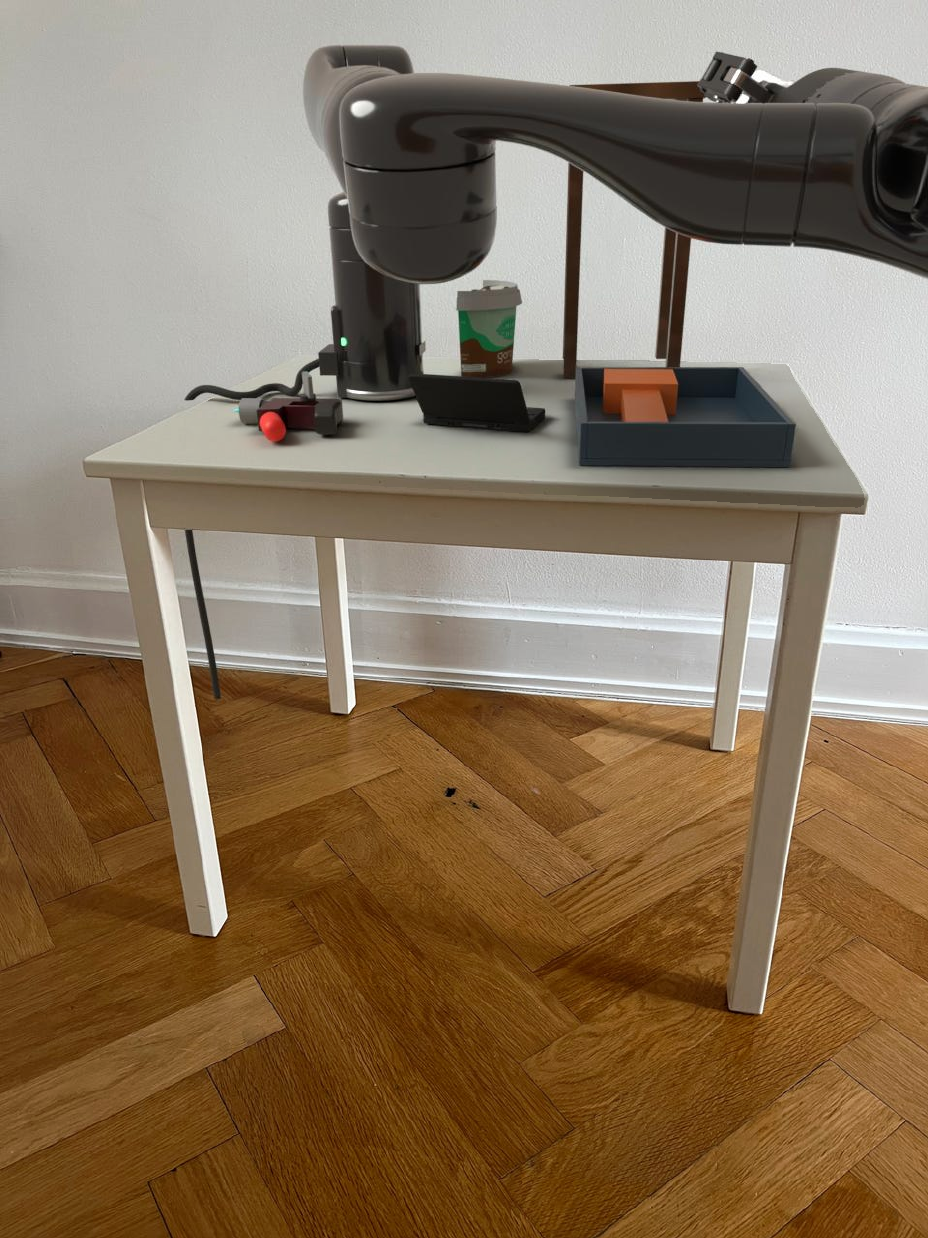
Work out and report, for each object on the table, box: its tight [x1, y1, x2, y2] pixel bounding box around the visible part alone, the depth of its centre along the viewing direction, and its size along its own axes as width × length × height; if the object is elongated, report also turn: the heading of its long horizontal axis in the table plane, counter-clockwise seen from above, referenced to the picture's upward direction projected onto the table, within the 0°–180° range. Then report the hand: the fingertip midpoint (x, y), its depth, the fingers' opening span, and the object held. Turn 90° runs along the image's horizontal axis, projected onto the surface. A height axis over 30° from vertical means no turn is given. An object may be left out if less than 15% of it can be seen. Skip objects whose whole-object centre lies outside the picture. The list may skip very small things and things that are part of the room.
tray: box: [574, 366, 797, 468], centre depth 84 cm, size 17×23×4 cm
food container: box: [455, 279, 523, 378], centre depth 109 cm, size 12×6×10 cm, turn 164°
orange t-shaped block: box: [603, 369, 678, 422], centre depth 84 cm, size 7×22×3 cm, turn 173°
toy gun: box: [232, 371, 344, 442], centre depth 86 cm, size 10×12×5 cm
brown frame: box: [562, 80, 707, 380], centre depth 105 cm, size 14×14×30 cm
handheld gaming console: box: [409, 373, 546, 433], centre depth 87 cm, size 12×7×10 cm
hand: (755, 111), depth 73 cm, fingers open, 8 cm apart
